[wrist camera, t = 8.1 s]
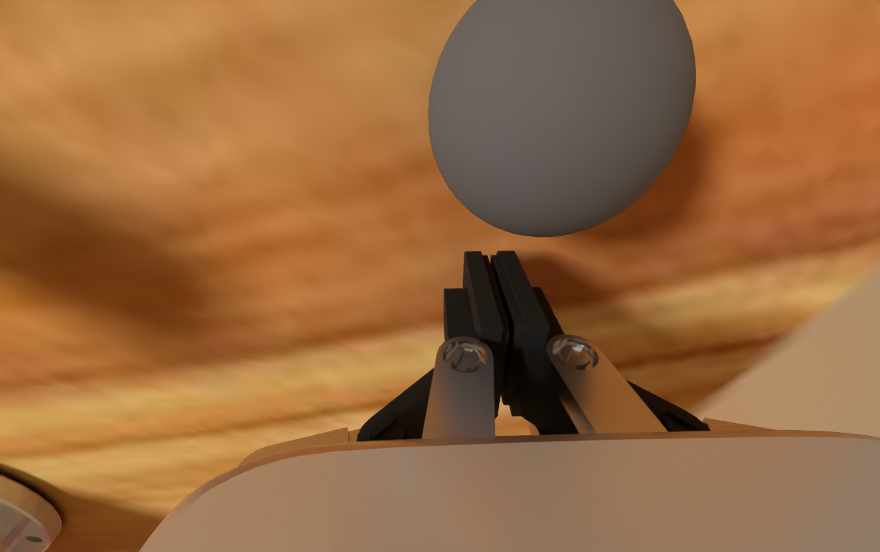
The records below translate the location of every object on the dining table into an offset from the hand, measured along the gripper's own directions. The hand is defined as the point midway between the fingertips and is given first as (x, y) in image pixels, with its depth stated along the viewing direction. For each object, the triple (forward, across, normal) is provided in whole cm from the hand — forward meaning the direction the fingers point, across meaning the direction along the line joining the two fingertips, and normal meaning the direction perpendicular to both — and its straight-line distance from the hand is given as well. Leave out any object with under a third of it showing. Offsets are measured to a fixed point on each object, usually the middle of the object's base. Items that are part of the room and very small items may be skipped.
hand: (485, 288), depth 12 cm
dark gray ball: (-1, -1, -6) cm, 6 cm away
